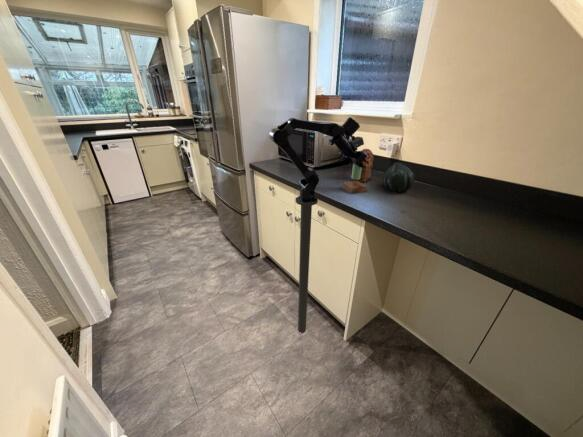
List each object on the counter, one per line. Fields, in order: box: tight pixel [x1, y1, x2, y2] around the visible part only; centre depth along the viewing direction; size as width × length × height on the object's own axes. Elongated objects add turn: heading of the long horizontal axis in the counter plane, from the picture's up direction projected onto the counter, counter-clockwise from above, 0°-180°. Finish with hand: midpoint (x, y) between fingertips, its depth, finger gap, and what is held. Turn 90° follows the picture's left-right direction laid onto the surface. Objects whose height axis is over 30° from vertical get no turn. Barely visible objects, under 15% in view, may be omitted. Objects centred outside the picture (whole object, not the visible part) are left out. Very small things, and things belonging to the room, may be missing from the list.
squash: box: [382, 162, 415, 193], centre depth 122 cm, size 14×15×15 cm
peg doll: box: [350, 163, 362, 180], centre depth 118 cm, size 4×4×12 cm
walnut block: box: [341, 180, 368, 195], centre depth 123 cm, size 9×9×3 cm
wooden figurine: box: [353, 148, 375, 183], centre depth 134 cm, size 12×6×18 cm, turn 128°
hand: (359, 165), depth 118 cm, fingers closed on peg doll, 4 cm apart
